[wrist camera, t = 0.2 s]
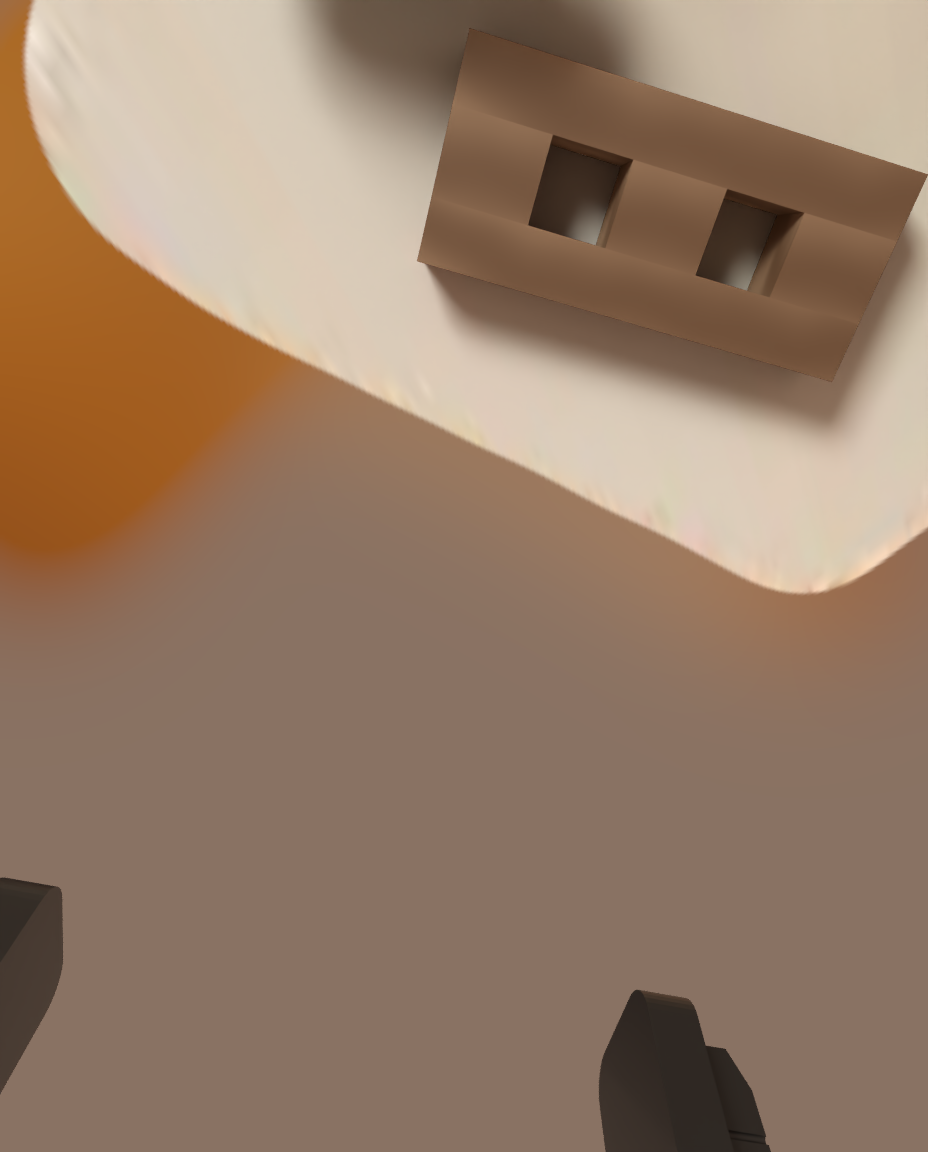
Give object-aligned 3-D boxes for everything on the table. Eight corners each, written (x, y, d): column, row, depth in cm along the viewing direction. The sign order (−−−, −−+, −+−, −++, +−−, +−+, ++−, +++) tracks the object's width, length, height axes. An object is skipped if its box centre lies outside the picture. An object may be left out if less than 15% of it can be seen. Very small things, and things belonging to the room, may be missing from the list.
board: (470, 46, 30) (469, 27, 27) (889, 180, 31) (928, 174, 29) (422, 259, 33) (417, 261, 30) (804, 370, 35) (831, 381, 32)
